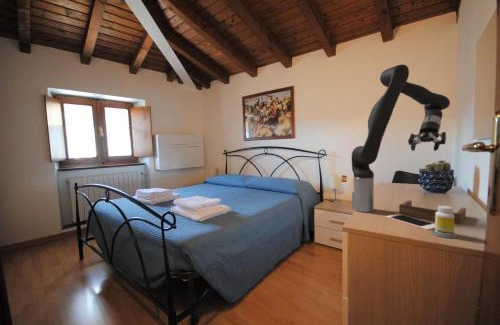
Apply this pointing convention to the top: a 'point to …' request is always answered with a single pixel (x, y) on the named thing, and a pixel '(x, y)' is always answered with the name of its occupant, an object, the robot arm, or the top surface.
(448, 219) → the supplement bottle
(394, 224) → the top surface
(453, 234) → the slate coaster
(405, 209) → the brown wooden tray
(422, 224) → the cell phone
